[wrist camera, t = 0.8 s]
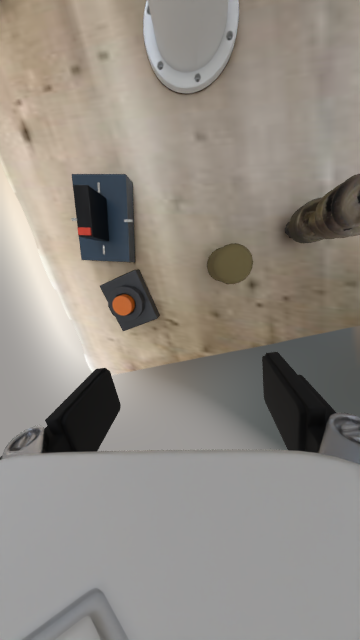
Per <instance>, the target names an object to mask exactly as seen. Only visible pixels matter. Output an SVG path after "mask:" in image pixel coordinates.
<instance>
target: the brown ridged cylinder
mask: <svg viewBox="0 0 360 640" xmlns="http://www.w3.org/2000/svg"><path fill="white" fill-rule="evenodd" d="M285 233H286V234H287V235H288V236H289V238H292V239H293V240H295V241H296V242H299V243H311V242H316V241H320V240H322V239H334V238H345V237H349V236H356V235H360V174H357V175H354V176H352V177H351V178H349V179H347V180H346V181H345V182H344V183H342V184H340V185H338V186H337V187H336V188H334V189H333V190H331V191H330V192H328V193H327V194H326V195H325V196H324V197H322V198H317V199H314V200H312V201H310V202H308V203H306V204H305V205H304V206H302V207H301V208H299V209H298V210H297V211H296V212H295V213H294V214H293V216H292V217H291V220H290V222H288V224H287V225H286V228H285Z"/></svg>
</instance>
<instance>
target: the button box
mask: <svg viewBox="0 0 360 640" xmlns="http://www.w3.org/2000/svg"><path fill="white" fill-rule="evenodd" d="M100 288H101V290H102V292H103V293H104V295H105V297H106V299H107V301H108V306H109V308H110V310H111V312H112V314H113V315H114V316H115V317H116V319H117V321H118V322H119V324H120V326H121V328H122V330H123V331H125V330H128V329H131V328H133V327H136V326H139V325H141V324H144V323H147V322H149V321H152V320H155V319H157V318H158V317H159V316H160V315H159V313H158V310H157V308H156V306H155V304H154V301H153V299H152V297H151V295H150V293H149V290H148V288H147V286H146V284H145V282H144V279H143V277H142V275H141V273H140V270H134V271H131V272H129V273H127V274H125V275H123V276H120V277H118V278H116V279H114V280H112V281H109V282H107V283H105V284H103V285H101V286H100ZM123 294H126V295H129V296H131V297H132V298H133V300H134V302H135V308H134V310H133V311H132V312H131V313H129V314H128V315H124V316H123V315H119V314H117V313H116V312H115V311H114V309H113V306H112V303H113V300H114V299H115V298H116V297H117V296H120V295H123Z"/></svg>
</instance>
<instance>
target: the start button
mask: <svg viewBox="0 0 360 640" xmlns="http://www.w3.org/2000/svg"><path fill="white" fill-rule="evenodd" d="M112 306H113V309H114V311H115V312H116V313H117V314H119V315H123V316H124V315H128V314H129V313H131V312H132V311H133V310H134V308H135V302H134V300H133V298H132V297H131V296H129V295H126V294H123V295H120V296H117V297H116V298H115V299H114V300H113V303H112Z"/></svg>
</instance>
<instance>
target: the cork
mask: <svg viewBox="0 0 360 640" xmlns="http://www.w3.org/2000/svg"><path fill="white" fill-rule="evenodd" d="M252 265H253V259H252V255H251V253H250V251H249V250H248V249H247V248H246V247H245V246H243V245H240V244H229V245H226V246H224V247H222V248H219V249H216V250H215V251H214V252H212V254H211V255H210V256H209V259H208V261H207V269H208V272H209V274H210V275H211V277H212V278H214V279H215V280H218V281H221V282H223V283H226V284H236V283H239V282H241V281H243V280H244V279H245V278H246V277H247V276H248V275H249V274H250V272H251V269H252Z"/></svg>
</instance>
